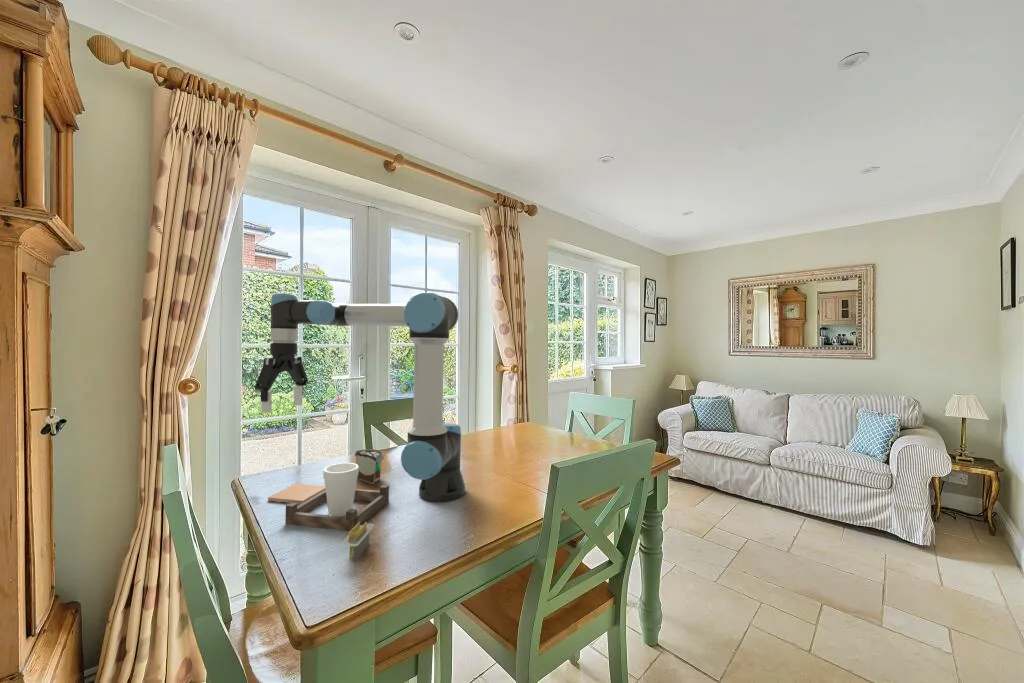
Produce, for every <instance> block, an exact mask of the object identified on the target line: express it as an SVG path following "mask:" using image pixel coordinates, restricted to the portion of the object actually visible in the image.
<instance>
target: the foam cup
mask: <svg viewBox="0 0 1024 683" xmlns="http://www.w3.org/2000/svg"><path fill="white" fill-rule="evenodd" d="M322 473H323V474H322V475H323V477H322V478H323V479H324V486H325V489H326V497H327V501H326V504H327V509H328V510H327V512H328V515H331V516H340V517H346V511H348V510H349V509H354V508H353V507H354V495H355V489H357V483H358V482H357V481H358V479H357V476H358V473H359V466H358V465H357V464H356V463H354V462H339V463H334V464H329V465H328V466H325V467H324V468H323V472H322Z"/></svg>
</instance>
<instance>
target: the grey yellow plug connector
mask: <svg viewBox="0 0 1024 683" xmlns="http://www.w3.org/2000/svg"><path fill="white" fill-rule="evenodd" d="M374 528H375V524H374V523H368V522H367V521H364V524H361V525H360V522H359V523H358V524H357V525H356V526H355V527H354V528H353V529H352V530H351V531H348V534H347V536H346V537H344V538H343V544H344V545H347V546H349V558H352V557H354V558H353V562H355V561H356V560H357V559H358V558H359V557H360V555H361V554H362V553H363V552H364V551H365V549H366V548H367V547H368V546H369V545H370V532H371V531H372V530H373V529H374ZM368 544H369V545H368ZM367 545H368V546H367ZM366 546H367V547H366ZM363 550H364V551H363ZM362 551H363V552H362ZM358 556H359V557H358Z"/></svg>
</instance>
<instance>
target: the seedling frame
mask: <svg viewBox="0 0 1024 683" xmlns="http://www.w3.org/2000/svg"><path fill="white" fill-rule="evenodd" d="M389 494H390V485H388V484H382V485H380V487H379V490H375V489H374V490H372V489H363V488H362V489H361V488H356V489H355V495H354V500H355V501H365V502H370V503H368V504H367V505H366V506H365V507H363V508H361V509H360V510H358V509H356V508H352V509H349V510H348V511H346V515H345V516H330V515H329V514H319V513H310V512H311V511H313V510H315V509H317V508H318V507H320V506H321V505H322V503H323V504H324V503H325V501H326V502H327V497H326V490H324V491H322V492H321V493H319V494H317V495H316V496H314V497H312V498H310V499H309V500H307V501H305V502H304V503H302V504H297V503H287V504H286V505H285V522H284V523H285V525H290V524H292V526H293V525H294V526H301V527H308V526H309V527H310V528H318V529H327V530H328V529H329V530H335V529H336V530H337V531H344V532H345V531H346V532H350V531H351V530H352V529H353V528H354V527H355V526H356V525H357V524H358V523H359V522H360V526H361V525H363V523H365V522H367V520H368V519H369V518H371V517H372V516H373V515H374V514H375V513H376V512H378V511H379V510H380V509H381V508H382V507H383V506H385V505H386V504H387V503H388V502H389V500H390V499H389V498H390V495H389ZM317 506H318V507H317ZM314 508H315V509H314ZM312 509H313V510H312ZM309 511H310V512H309Z"/></svg>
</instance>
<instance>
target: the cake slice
mask: <svg viewBox="0 0 1024 683" xmlns="http://www.w3.org/2000/svg"><path fill="white" fill-rule="evenodd" d="M354 457H355V464H357V465H358V466H359V473H358V476H357V480H359V481H362V480H363V481H362V482H365V481H366V483H369V484H371V485H375V484H379V482H380V480H381V471H382V461H383V460H384V459H385V457H384V453H383V451H382V450H380V449H374V448H366V449H359V450H355V453H354Z"/></svg>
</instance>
